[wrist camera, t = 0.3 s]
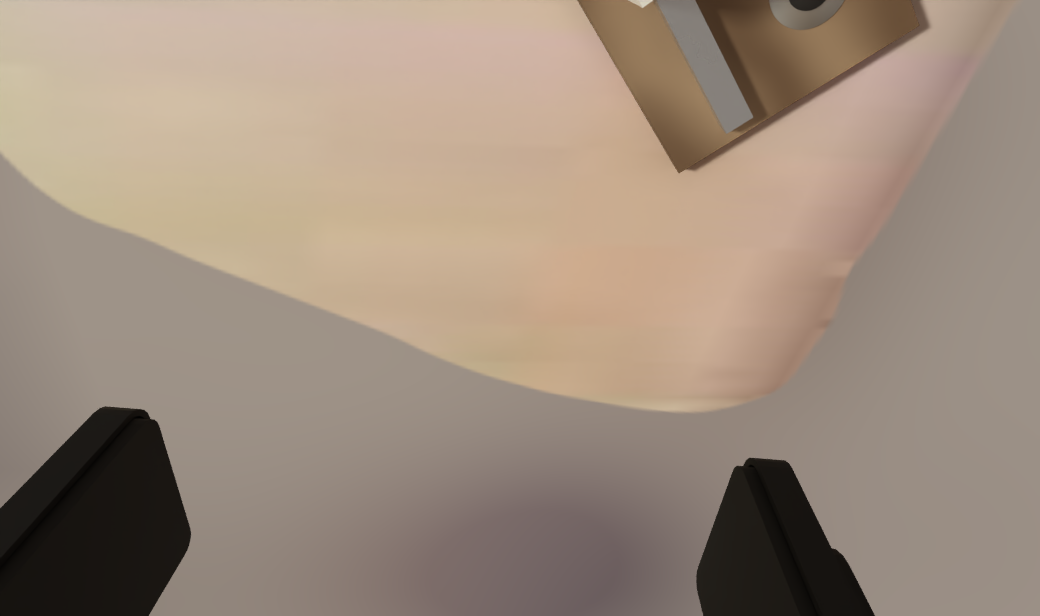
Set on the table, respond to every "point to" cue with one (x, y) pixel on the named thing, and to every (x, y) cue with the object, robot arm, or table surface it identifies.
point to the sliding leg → (641, 2)
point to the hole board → (741, 58)
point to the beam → (705, 62)
